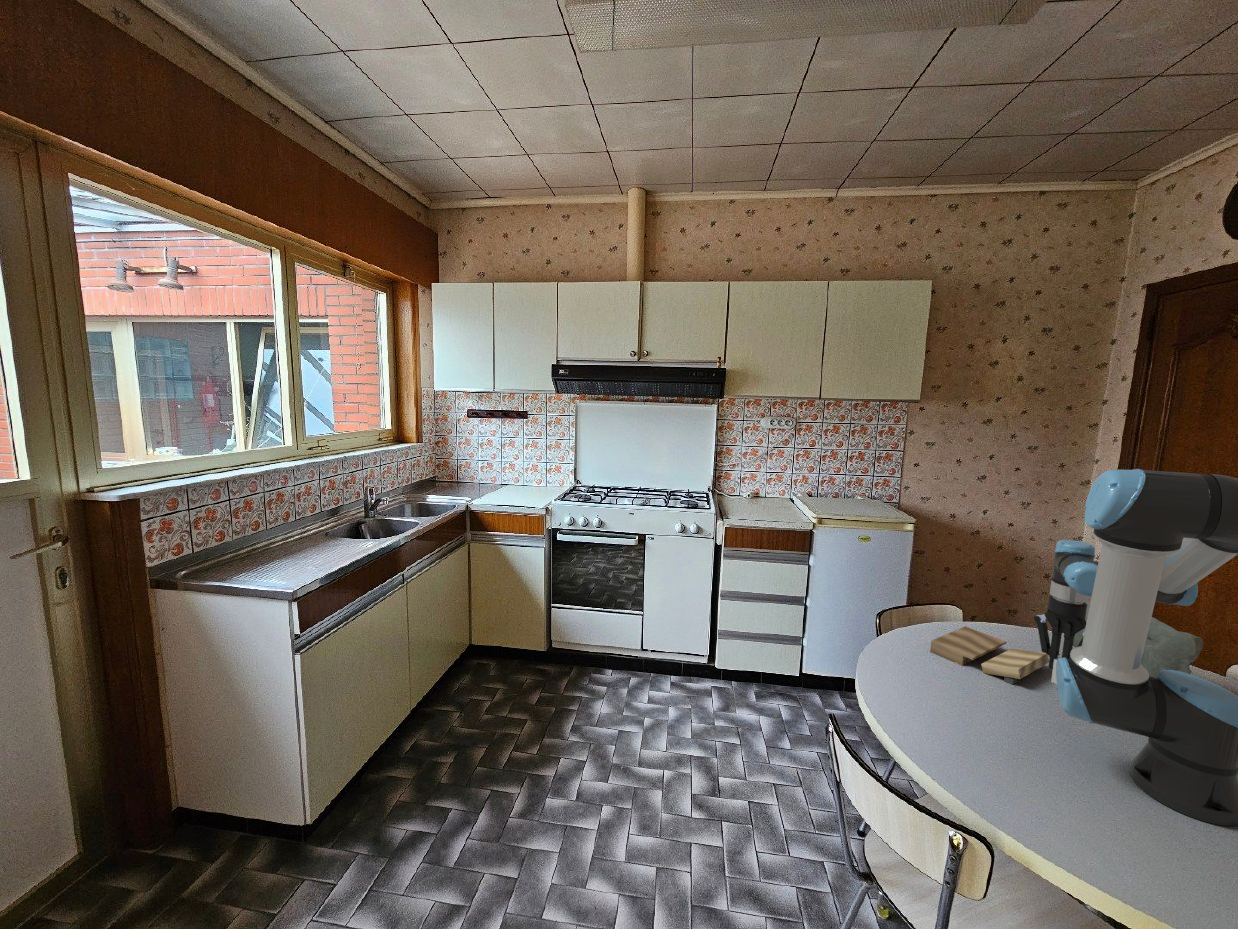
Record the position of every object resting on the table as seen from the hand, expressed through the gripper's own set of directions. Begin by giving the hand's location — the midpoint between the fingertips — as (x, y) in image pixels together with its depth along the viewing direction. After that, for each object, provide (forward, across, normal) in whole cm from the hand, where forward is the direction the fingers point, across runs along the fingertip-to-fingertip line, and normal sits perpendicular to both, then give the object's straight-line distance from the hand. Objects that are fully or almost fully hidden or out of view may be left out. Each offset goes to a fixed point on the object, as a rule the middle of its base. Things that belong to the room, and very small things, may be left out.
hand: (1056, 681), depth 135 cm
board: (+2, +22, 0) cm, 22 cm away
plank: (+2, +9, 0) cm, 10 cm away
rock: (+2, -6, -26) cm, 27 cm away
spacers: (+2, +7, 0) cm, 8 cm away
